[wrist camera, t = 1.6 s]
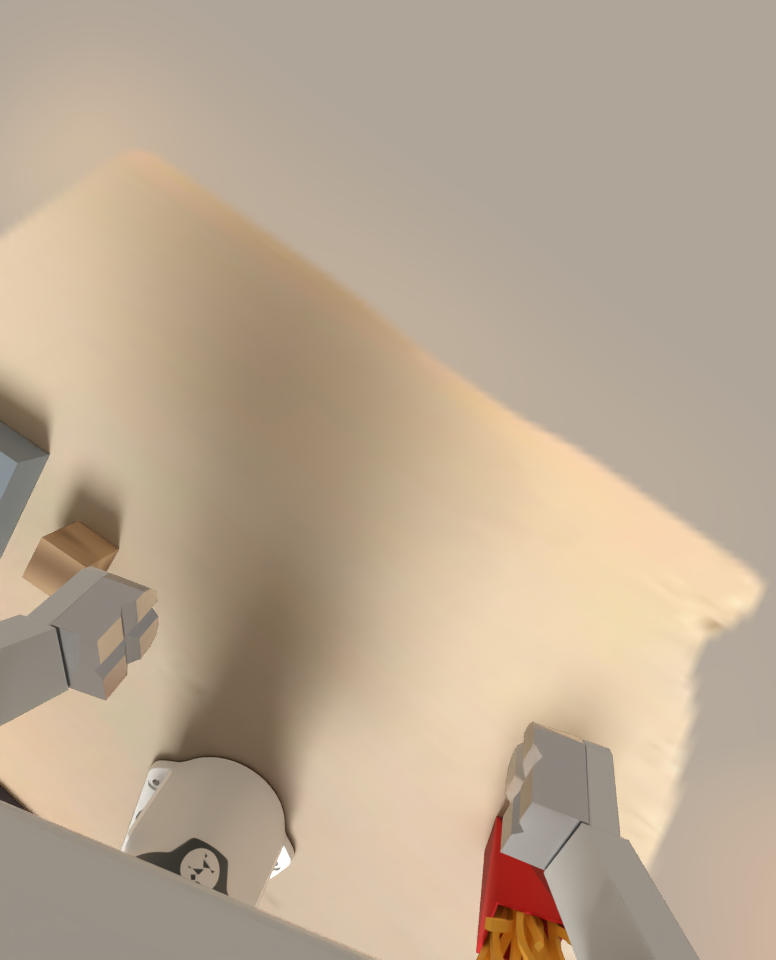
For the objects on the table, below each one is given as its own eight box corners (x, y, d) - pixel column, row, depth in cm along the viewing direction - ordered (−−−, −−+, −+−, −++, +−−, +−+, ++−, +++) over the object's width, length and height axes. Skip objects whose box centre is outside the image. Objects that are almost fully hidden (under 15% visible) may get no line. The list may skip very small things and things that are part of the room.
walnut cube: (99, 584, 58) (65, 606, 53) (59, 557, 58) (22, 576, 53) (119, 548, 56) (86, 567, 51) (78, 520, 56) (41, 537, 51)
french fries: (536, 875, 58) (557, 1050, 44) (459, 851, 59) (455, 1016, 44) (561, 809, 56) (592, 972, 41) (481, 785, 56) (484, 936, 42)
